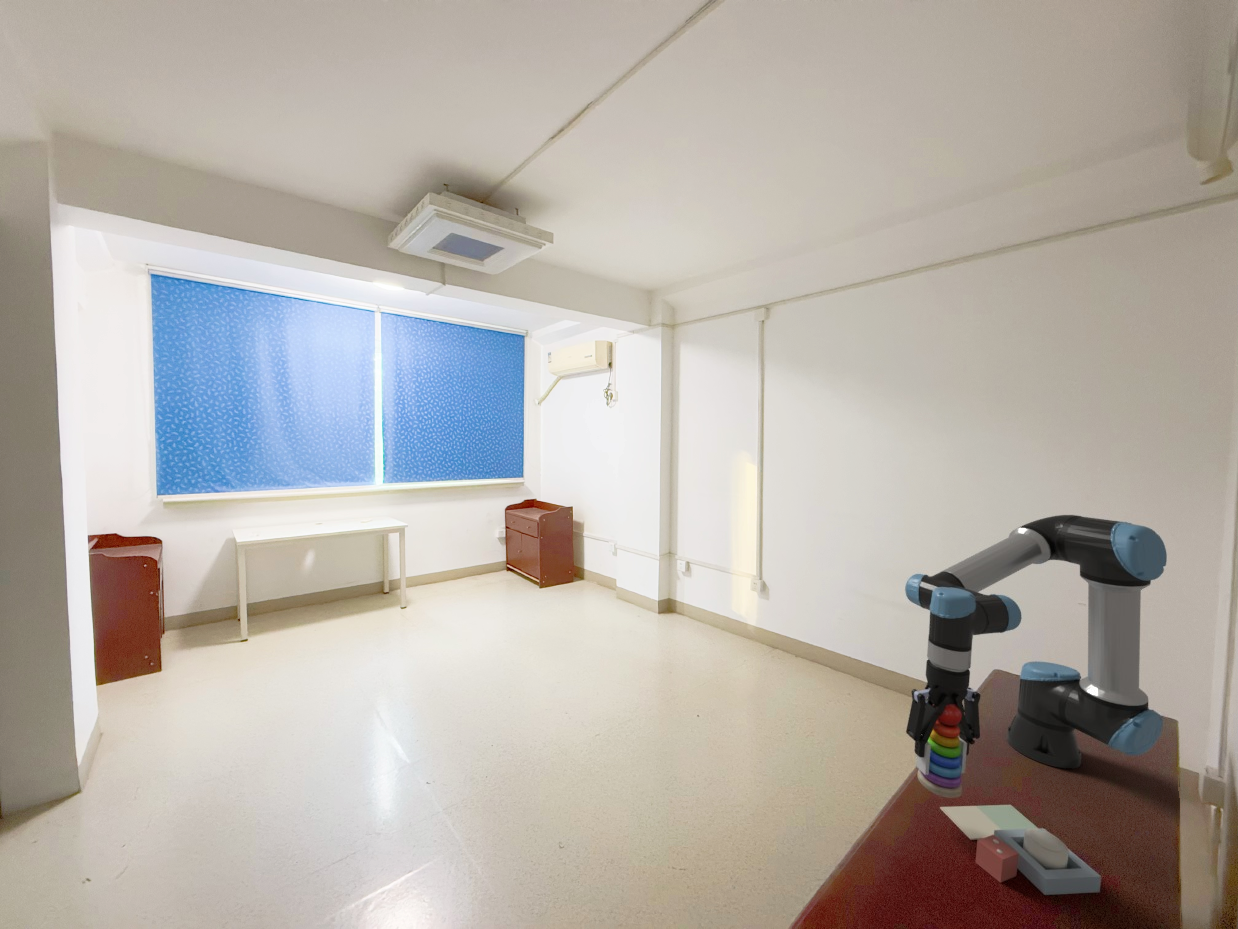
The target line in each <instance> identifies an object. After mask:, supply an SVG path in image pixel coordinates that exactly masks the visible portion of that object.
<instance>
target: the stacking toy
mask: <svg viewBox="0 0 1238 929" xmlns="http://www.w3.org/2000/svg"><path fill="white" fill-rule="evenodd" d="M933 706H935V705H933ZM935 707H936V706H935ZM936 708H937V707H936ZM961 718H962V713H961V711H960V710H959V709H958V708H957V706H956V705H955V704H949V705H946V707H945V709H944V711H943V713H942V715H939V717H938V719H937V721H936V724H935V726H934V728H933V730H932V732H931V735H930V737H929V739H928V741H927V742H928V743H929V744H931V749H930V762H929V775H925V774H924V773H923V772H922V771H921V770H920V769H919V768H918V771H917V775H916V776H917V780H918V781H919V782H920V784H921V786H923V787H924V788H925V789H926V790H928V791H929V792H931V793H932V794H934V795H937V796H939V797H943V798H949V799H954V798H959V797H961V795H962V794H963V785H962V781H963V780H962V775H961V774H963V773H962V768H961V766H960V764H961V758H960V756H959V755H960V753H961V749H960V747H959V744H960V739H959V737H958V736H959V734H960V729H959V727H958V726H957V724H958V723H959V722H960V721H961Z"/></svg>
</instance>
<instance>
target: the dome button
mask: <svg viewBox="0 0 1238 929" xmlns="http://www.w3.org/2000/svg"><path fill="white" fill-rule="evenodd" d="M1023 849H1024V850H1025V851H1026V852H1027V853H1028V854H1029V855H1030V856H1031V857H1032V858H1033V859H1035V860H1036V861H1037V862H1038V863H1039V864H1040V865H1041V866H1042V867H1043V868H1044V869H1045V870H1056V869H1067V863H1068V853H1069V851H1068V849H1069V848H1068V847H1067V845H1066V844H1065V843H1064V842H1063V841H1062V840H1061V839H1059V838H1058V837H1057V836H1055V835H1054V834H1053V833H1051V832H1049V831H1048V832H1046V831H1044V830H1040V829H1033V828H1030V829H1026V830H1025V833H1024V843H1023Z"/></svg>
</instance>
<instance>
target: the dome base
mask: <svg viewBox="0 0 1238 929" xmlns="http://www.w3.org/2000/svg"><path fill="white" fill-rule="evenodd" d="M1037 828H1038V829H1040V830H1044V831H1046V832H1049V831H1048V830H1047V829H1045V828H1043V827H1042V828H1041V827H1040V828H1039V827H1037ZM1025 830H1026V829H1012V830H994V836H996V837H997V838H999V839H1000V840H1001V841H1003V842H1004V843H1005V844H1007V845H1008V846H1009V847H1011V848H1012V849H1014V850H1015V851H1016V852H1018V853H1019V855H1018V865H1017V870H1018V871H1020V873H1022V875H1023V876H1024V877H1026V878H1027V879H1028V880H1029V881H1030V883H1031V884H1033V886H1035V888H1037V889H1038V890H1039V891H1040V892H1041V893H1042V894H1043V895H1044V896H1050V895H1052V896H1053V895H1054V896H1055V895H1069V894H1073V895H1074V894H1087V893H1091V894H1092V893H1100V892H1101V884H1102V883H1101V882H1102V876H1101V875H1100V874H1099V873H1098V872H1097V871H1095V870H1094V869H1093V868H1092V867H1091V866H1090V865H1088V864H1087V863H1086V862H1085V861H1083V860H1082V859H1081V858H1080V857H1079V856H1077V854H1075V853H1074V852H1073V851H1072V850H1071V849H1069V848H1068V851H1069V853H1068V863H1067V869H1056V870H1045V869H1044V868H1043V867H1042V866H1041V865H1040V864H1039V863H1038V862H1037V861H1036V860H1035V859H1033V858H1032V857H1031V856H1030V855H1029V854H1028V853H1027V852H1026V851H1025V850H1024V849H1023V843H1024V833H1025Z"/></svg>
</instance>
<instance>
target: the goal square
mask: <svg viewBox="0 0 1238 929" xmlns="http://www.w3.org/2000/svg"><path fill="white" fill-rule="evenodd" d="M975 806H976V807H977V808H978V809H979V810H981V811H982V812H983V813H984V814H985V815H986V816H987V817H988V818H989V819H990V820H991V821H992V822H994V823H995V824H996V825H997V826H998V827H999V828H1000V829H1001V830H1012V829H1030V828H1033V829H1038V828H1039V827H1037V826H1036V825H1035V824H1034V823H1033V822H1032V821H1031V820H1029V819H1028V818H1027V817H1026V816H1024V815H1023V814H1022V813H1021V812H1020V811H1019V810H1017V809H1016V808H1015V807H1014V806H1013V805H1011V804H996V805H994V804H993V805H991V804H989V805H988V804H987V805H975Z"/></svg>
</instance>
